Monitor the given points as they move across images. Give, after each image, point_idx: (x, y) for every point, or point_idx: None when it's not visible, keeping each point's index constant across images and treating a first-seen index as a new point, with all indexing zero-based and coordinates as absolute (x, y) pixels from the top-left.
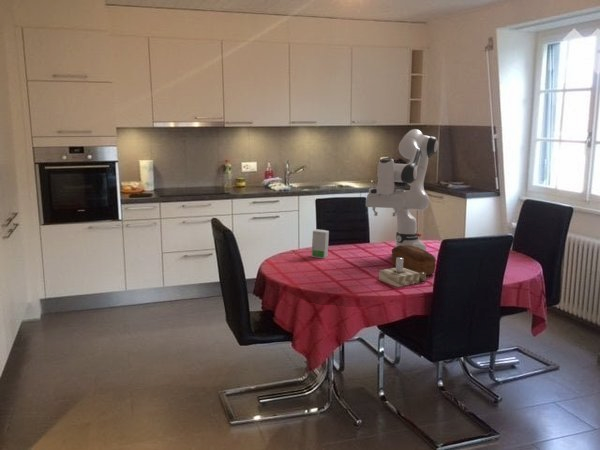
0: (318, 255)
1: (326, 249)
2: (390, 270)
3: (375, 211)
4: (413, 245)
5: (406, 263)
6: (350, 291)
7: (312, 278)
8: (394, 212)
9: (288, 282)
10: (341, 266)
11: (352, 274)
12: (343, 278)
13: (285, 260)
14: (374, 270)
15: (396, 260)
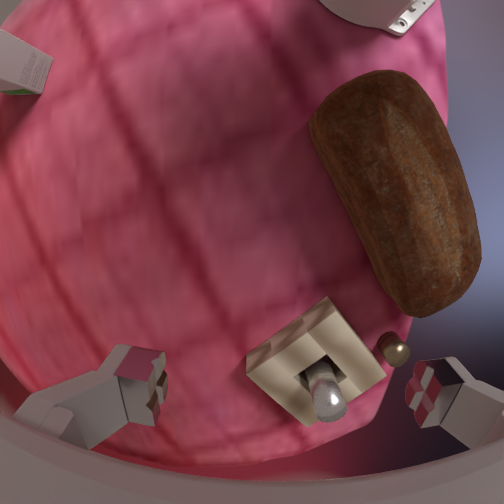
0: (22, 93)
1: (31, 68)
2: (289, 369)
3: (111, 408)
4: (410, 3)
5: (371, 246)
6: (174, 443)
7: (54, 351)
8: (454, 409)
9: (28, 380)
10: (95, 190)
11: (147, 299)
12: None
13: None
14: (227, 226)
15: (315, 411)
